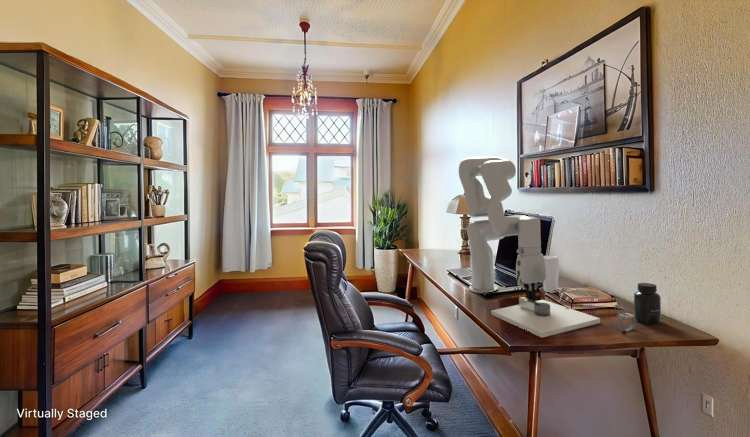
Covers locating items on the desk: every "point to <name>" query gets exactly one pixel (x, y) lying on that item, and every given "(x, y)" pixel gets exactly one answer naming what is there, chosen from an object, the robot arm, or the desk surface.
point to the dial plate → (545, 319)
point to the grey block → (535, 306)
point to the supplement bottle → (647, 304)
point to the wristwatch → (626, 316)
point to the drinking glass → (551, 273)
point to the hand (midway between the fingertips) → (531, 299)
